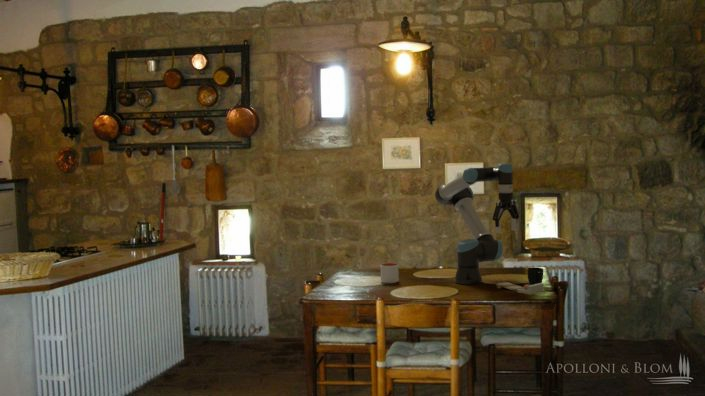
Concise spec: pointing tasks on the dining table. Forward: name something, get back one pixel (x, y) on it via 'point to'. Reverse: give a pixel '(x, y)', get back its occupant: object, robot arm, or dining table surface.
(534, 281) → the mug
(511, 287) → the ramp
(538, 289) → the stop block
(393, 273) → the cup
